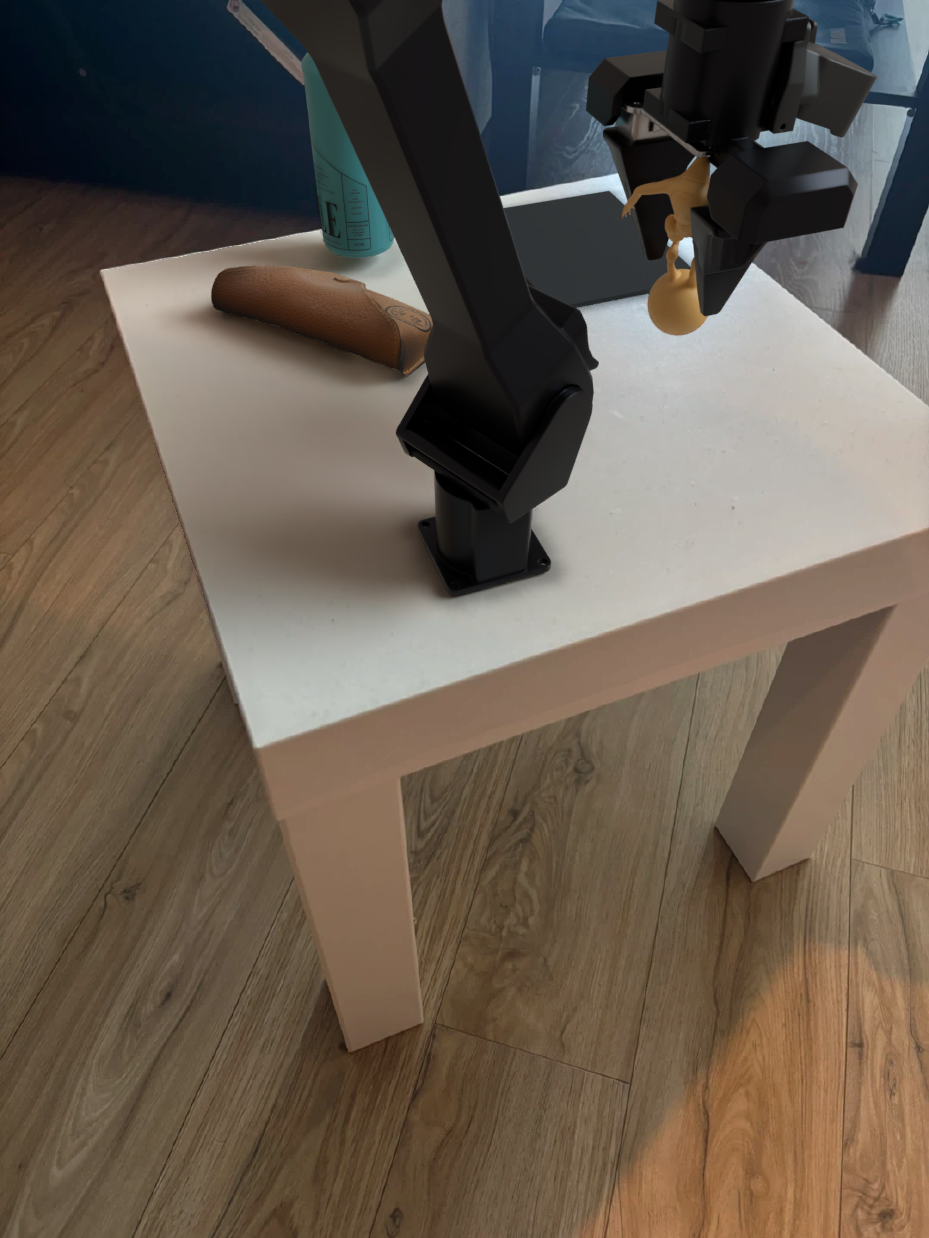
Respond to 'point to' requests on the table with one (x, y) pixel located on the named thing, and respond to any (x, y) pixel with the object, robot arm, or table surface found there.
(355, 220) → the beverage bottle
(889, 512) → the table surface
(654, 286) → the figurine
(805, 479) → the table surface
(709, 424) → the table surface
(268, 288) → the sunglasses case
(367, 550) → the table surface
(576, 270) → the mat
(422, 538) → the robot arm
